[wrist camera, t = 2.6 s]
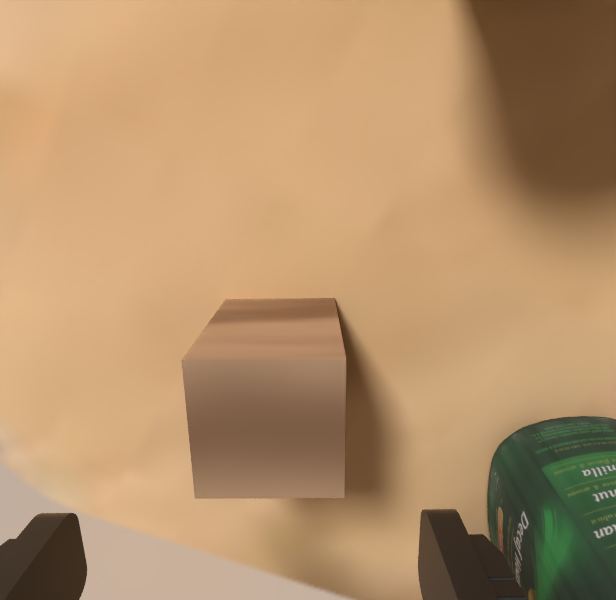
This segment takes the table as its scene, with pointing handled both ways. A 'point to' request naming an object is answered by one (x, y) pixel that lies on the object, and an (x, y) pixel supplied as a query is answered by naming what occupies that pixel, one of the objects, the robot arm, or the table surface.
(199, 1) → the table surface
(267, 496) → the walnut block
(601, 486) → the coffee jar
